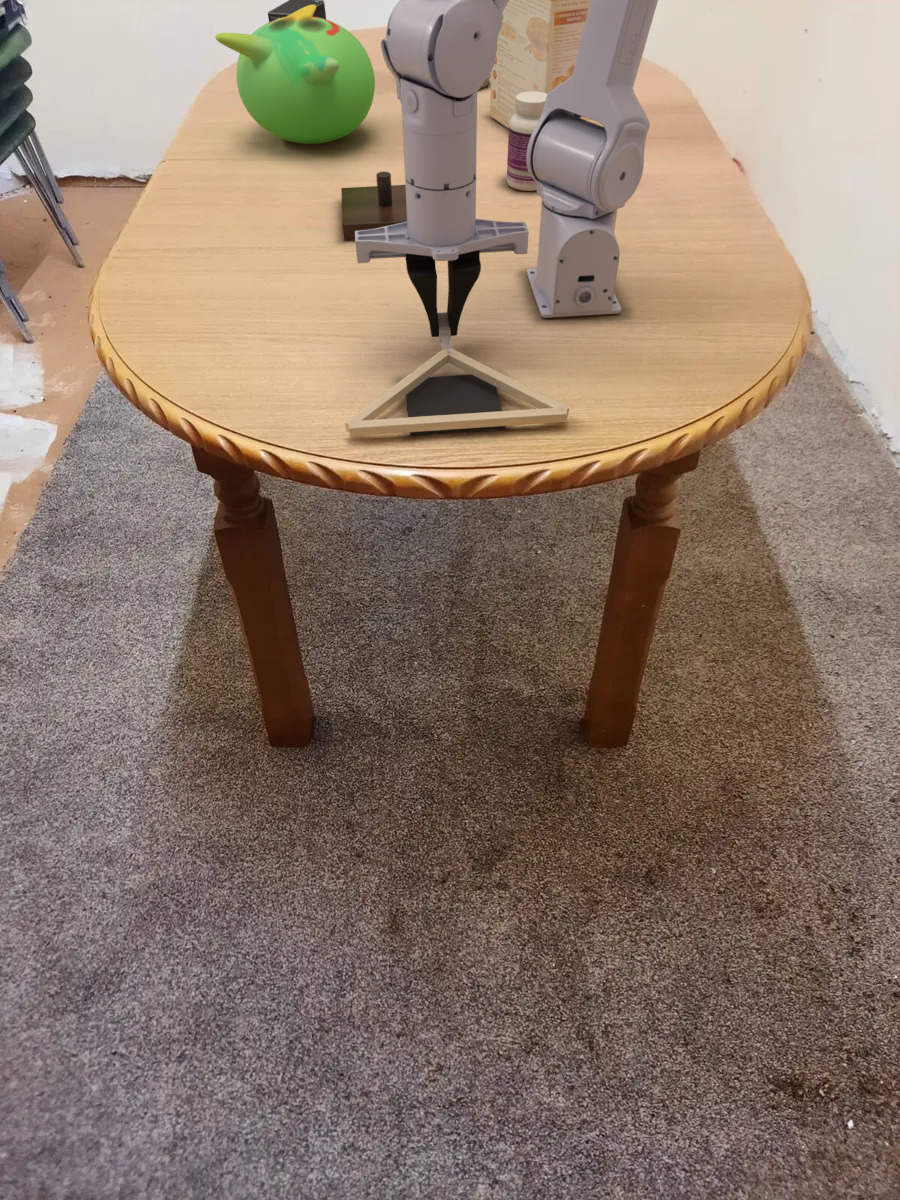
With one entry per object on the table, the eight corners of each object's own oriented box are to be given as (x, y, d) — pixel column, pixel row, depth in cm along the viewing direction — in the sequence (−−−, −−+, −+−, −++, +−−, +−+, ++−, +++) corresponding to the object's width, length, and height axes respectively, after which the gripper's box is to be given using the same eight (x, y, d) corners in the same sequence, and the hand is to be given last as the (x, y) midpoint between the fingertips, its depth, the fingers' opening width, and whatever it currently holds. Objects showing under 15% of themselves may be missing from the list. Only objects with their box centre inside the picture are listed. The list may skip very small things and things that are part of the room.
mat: (505, 429, 69) (505, 426, 69) (410, 435, 68) (410, 432, 68) (492, 375, 74) (493, 372, 74) (404, 381, 74) (404, 378, 73)
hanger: (540, 317, 77) (541, 306, 76) (569, 421, 68) (571, 410, 67) (342, 329, 76) (340, 318, 75) (346, 436, 67) (344, 425, 66)
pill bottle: (546, 193, 100) (553, 105, 93) (503, 190, 101) (506, 103, 94) (551, 176, 104) (558, 90, 96) (510, 173, 104) (513, 87, 97)
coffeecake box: (585, 143, 111) (604, -37, 96) (539, 152, 109) (552, -30, 94) (531, 108, 120) (541, -61, 105) (487, 116, 118) (492, -55, 103)
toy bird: (393, 124, 116) (386, -2, 105) (352, 170, 106) (339, 35, 95) (275, 113, 120) (257, -10, 109) (224, 156, 109) (198, 25, 98)
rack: (432, 236, 93) (431, 190, 89) (344, 240, 92) (339, 194, 89) (425, 199, 100) (424, 154, 96) (342, 203, 99) (338, 159, 95)
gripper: (350, 201, 63) (365, 359, 73) (538, 192, 64) (527, 349, 74) (349, 165, 67) (363, 318, 77) (524, 157, 68) (515, 309, 78)
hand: (443, 330), depth 76 cm, fingers closed on hanger, 1 cm apart
